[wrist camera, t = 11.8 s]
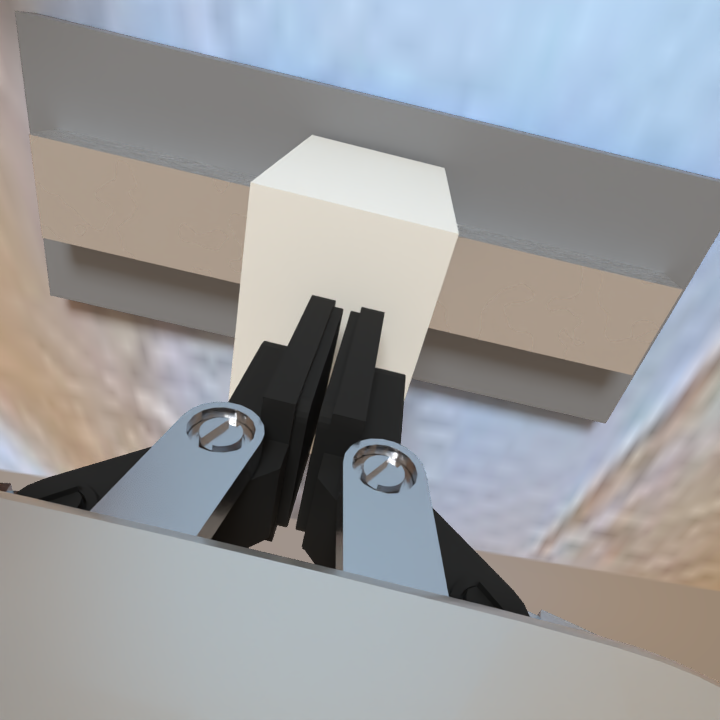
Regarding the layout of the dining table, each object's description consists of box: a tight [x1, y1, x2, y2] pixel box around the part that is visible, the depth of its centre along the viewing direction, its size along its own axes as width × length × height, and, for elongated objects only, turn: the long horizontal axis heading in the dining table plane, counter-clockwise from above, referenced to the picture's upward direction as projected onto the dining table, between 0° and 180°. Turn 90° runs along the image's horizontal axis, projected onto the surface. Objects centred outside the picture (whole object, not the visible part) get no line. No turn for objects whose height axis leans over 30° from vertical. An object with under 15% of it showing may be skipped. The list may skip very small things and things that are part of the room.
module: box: [229, 135, 459, 454], centre depth 16 cm, size 4×8×7 cm, turn 168°
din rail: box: [29, 129, 682, 375], centre depth 18 cm, size 22×4×2 cm, turn 78°
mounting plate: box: [15, 11, 720, 423], centre depth 19 cm, size 24×10×1 cm, turn 78°
